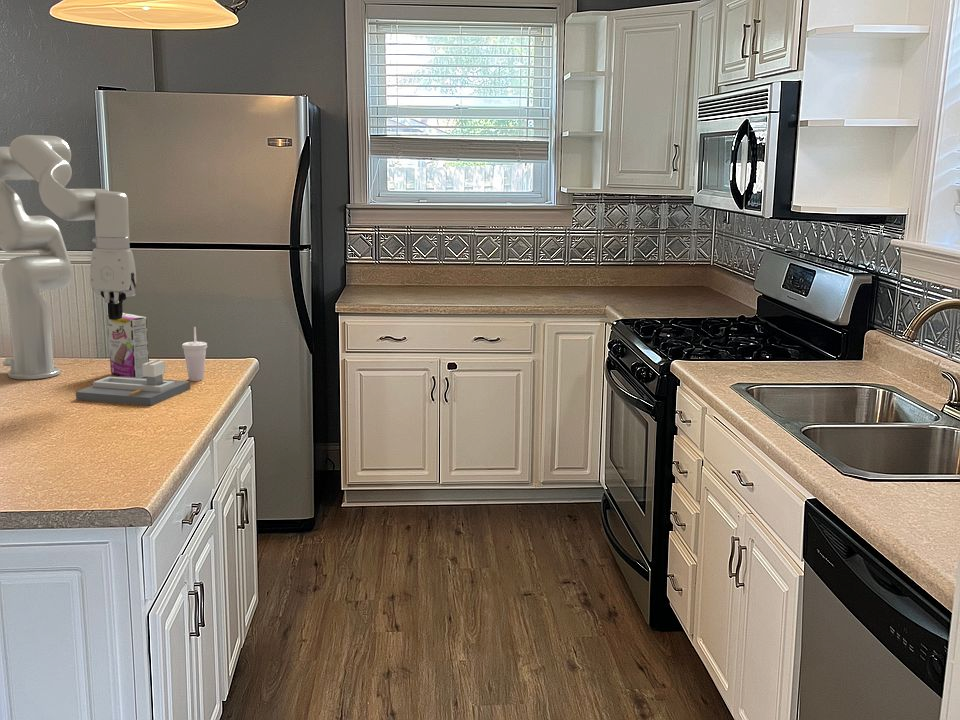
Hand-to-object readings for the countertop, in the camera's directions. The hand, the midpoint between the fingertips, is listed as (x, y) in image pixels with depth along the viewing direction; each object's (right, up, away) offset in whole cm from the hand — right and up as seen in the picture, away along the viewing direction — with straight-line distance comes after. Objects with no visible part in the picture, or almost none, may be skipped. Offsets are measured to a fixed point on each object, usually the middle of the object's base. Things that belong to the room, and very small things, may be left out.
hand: (115, 318), depth 234 cm
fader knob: (+9, -17, +1) cm, 19 cm away
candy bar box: (-5, -14, +23) cm, 27 cm away
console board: (+4, -19, +3) cm, 19 cm away
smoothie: (+14, -15, +19) cm, 29 cm away
